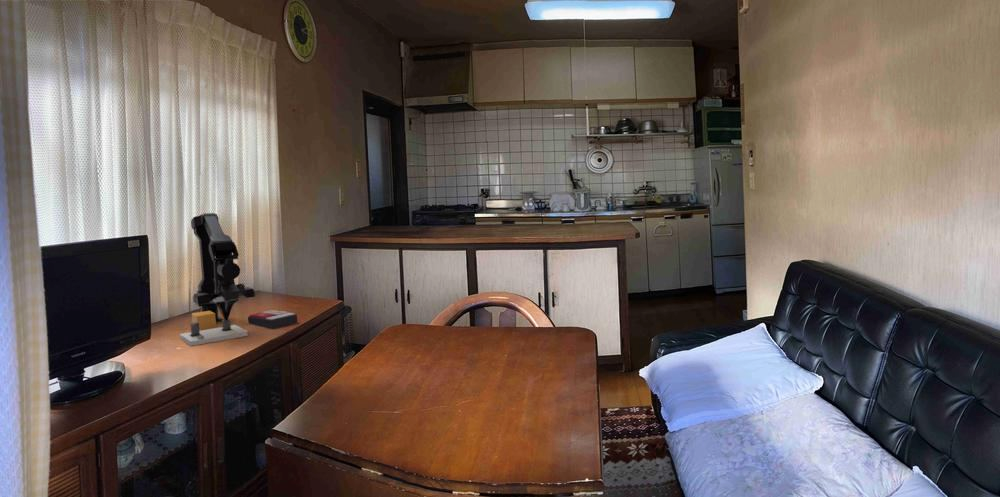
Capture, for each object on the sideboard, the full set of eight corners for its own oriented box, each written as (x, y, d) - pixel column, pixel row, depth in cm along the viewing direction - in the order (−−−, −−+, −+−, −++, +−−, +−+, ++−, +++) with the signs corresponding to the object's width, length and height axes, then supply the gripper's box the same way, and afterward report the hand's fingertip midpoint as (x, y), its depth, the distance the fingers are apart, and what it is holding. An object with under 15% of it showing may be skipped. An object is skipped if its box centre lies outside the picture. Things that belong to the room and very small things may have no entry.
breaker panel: (180, 338, 195) (179, 332, 194) (235, 328, 207) (234, 323, 207) (190, 346, 186) (190, 339, 186) (247, 335, 198) (247, 329, 198)
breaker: (190, 335, 193) (189, 323, 193) (198, 333, 195) (197, 322, 195) (192, 336, 192) (191, 324, 191) (200, 335, 193) (200, 323, 193)
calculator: (273, 309, 224) (297, 312, 215) (273, 319, 224) (298, 323, 216) (247, 314, 215) (271, 318, 206) (247, 325, 215) (272, 329, 207)
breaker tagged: (221, 330, 200) (220, 319, 200) (229, 329, 202) (228, 318, 202) (224, 332, 198) (223, 321, 198) (232, 331, 200) (231, 319, 200)
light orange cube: (192, 329, 206) (191, 313, 205) (210, 326, 210) (209, 310, 209) (198, 333, 201) (196, 316, 201) (216, 329, 205) (215, 313, 205)
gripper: (201, 282, 186) (204, 329, 188) (260, 275, 198) (262, 319, 200) (191, 277, 194) (194, 322, 196) (248, 271, 206) (250, 313, 208)
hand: (226, 319), depth 200 cm, fingers closed, pressing on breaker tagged
